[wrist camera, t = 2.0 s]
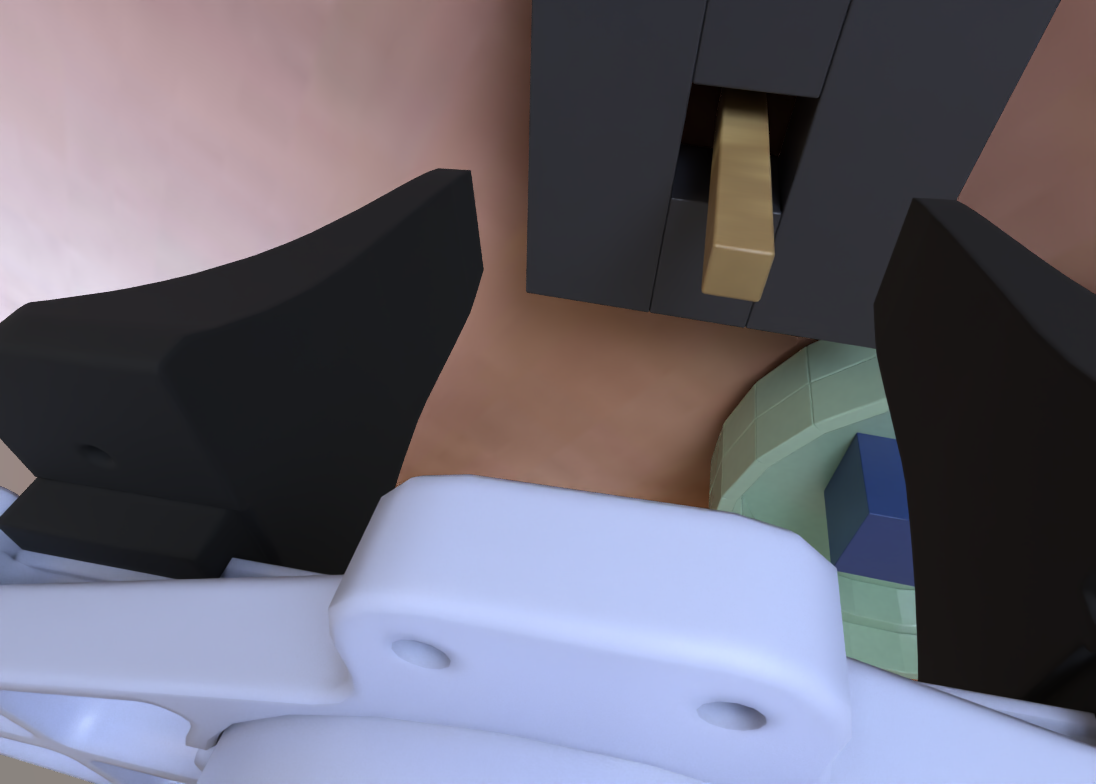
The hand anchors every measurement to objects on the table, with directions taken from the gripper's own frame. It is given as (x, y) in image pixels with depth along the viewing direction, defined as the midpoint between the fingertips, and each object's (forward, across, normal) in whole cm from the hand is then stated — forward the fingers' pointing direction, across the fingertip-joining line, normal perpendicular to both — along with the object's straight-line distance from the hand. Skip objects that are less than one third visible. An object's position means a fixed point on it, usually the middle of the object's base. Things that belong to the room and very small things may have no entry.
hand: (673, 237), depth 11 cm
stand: (+10, -1, +2) cm, 10 cm away
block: (+10, -10, +16) cm, 21 cm away
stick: (+10, -1, +2) cm, 10 cm away
